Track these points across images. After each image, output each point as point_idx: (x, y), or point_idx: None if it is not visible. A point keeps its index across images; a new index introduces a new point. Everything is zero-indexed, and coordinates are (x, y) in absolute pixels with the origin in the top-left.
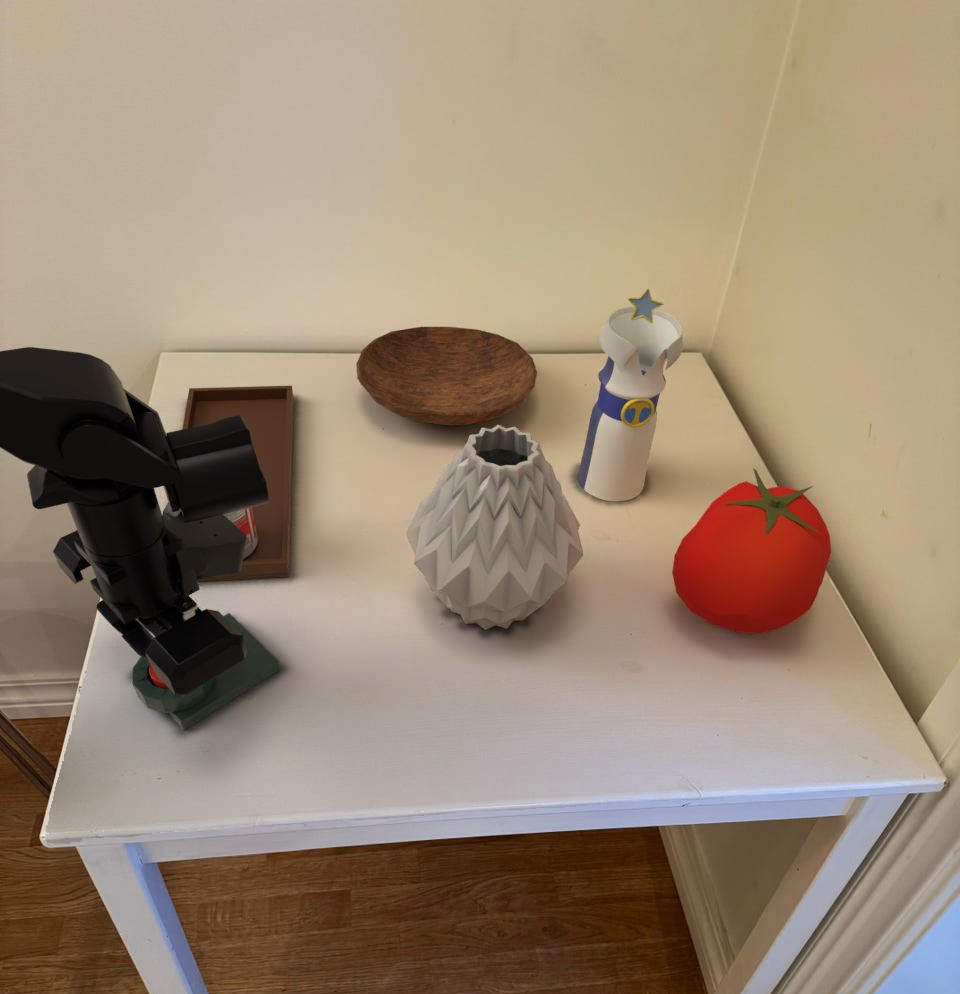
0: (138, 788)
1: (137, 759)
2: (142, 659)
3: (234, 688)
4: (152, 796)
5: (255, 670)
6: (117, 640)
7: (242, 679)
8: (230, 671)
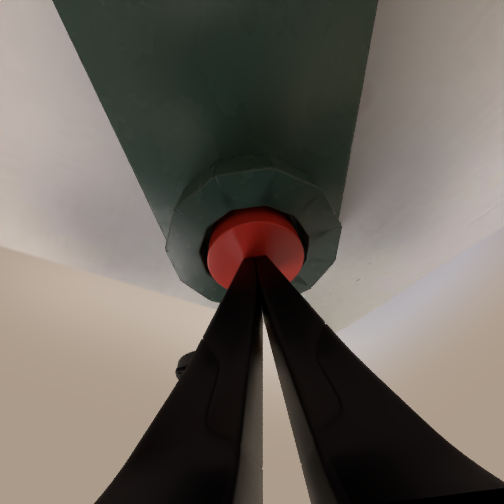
0: (348, 296)
1: (316, 288)
2: (198, 287)
3: (352, 137)
4: (369, 290)
5: (355, 36)
6: (92, 256)
7: (347, 100)
8: (302, 117)
